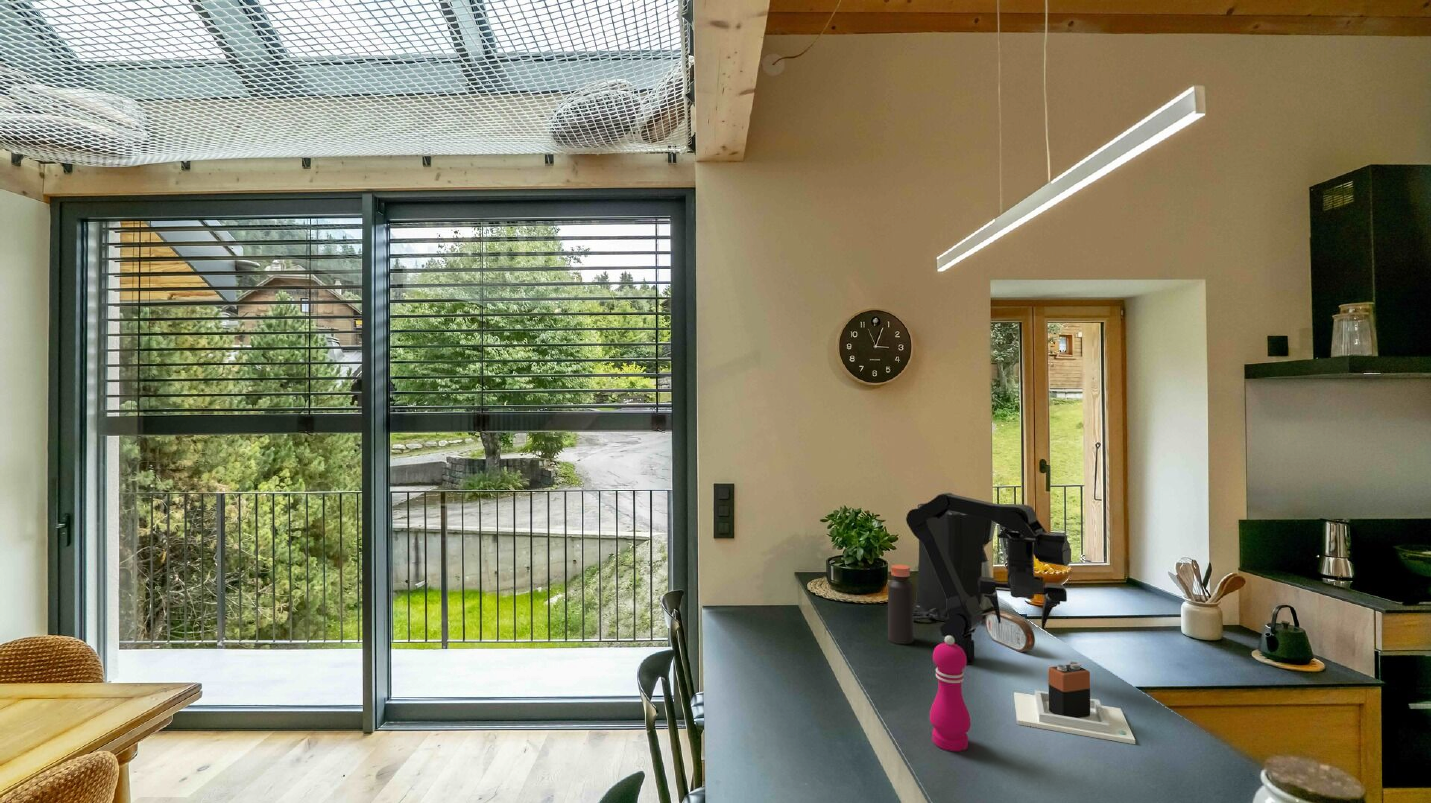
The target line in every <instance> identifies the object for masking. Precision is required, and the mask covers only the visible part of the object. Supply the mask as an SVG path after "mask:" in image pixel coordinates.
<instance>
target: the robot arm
mask: <svg viewBox="0 0 1431 803" xmlns="http://www.w3.org/2000/svg"><path fill="white" fill-rule="evenodd" d="M924 504H925V503H924ZM948 510H951V511H955V512H959V513H964V514H968V515H972V516H976V517H981V518H985V519H989V520H991V521H994V522H995V523H996V525H998V526H1001V527H1002V528H1004V529H1003V530H1002V532H1000V533H998V534H997V538H999V539H1006V556H1007V558H1006V562H1007V563H1006V568H1007V570H1006V571H1007V572H1006V576H1007V577H1006V578H1007V582H996V577H991V578H990V577H980V578H978V593H982V594H984V597H988V598H989V599H990V601H991V603H992V606H993V607H994V610H995V613H996V616H997V619H998V622H999V623H1001V617H1000V610H1001V609H1000V604H999V603H1000V602H999V598H998V591H1001V592H1010V596H1011V597H1013V598H1016V599H1017V598H1022V599H1023V598H1024V599H1027V600H1033V599H1034V598H1035V595H1042V596H1043V601H1042V610H1041V611H1042V612H1041V629H1045V627H1046V625H1047V621H1048V619H1049V616H1050V614H1051V611H1052V610H1053V608H1054V607H1055V606H1056V605H1061V602H1064V603H1067V601H1068V595H1067V594H1068V592H1067V590H1066V587H1065V586H1064V585H1063V584H1062V583H1054V582H1045V584H1044V577H1043V576H1035V559H1037V561H1038V562H1039V563H1043V564H1052V565H1057V566H1062V567H1063V566H1065V567H1068V566H1069V565H1070V563H1071V558H1072V548H1071V544H1070V543H1069V542H1070V541H1068V535H1066V534H1053V533H1048V532H1047V530H1046V529H1045V528H1044V526H1043V525H1042V523H1041V522H1040V521H1039V519H1038V518H1037V513H1036V511H1035V510H1034V509H1033V507H1032V506H1030V505H1028V504H1021V503H1020V504H1019V503H1018V504H1016V503H994V502H989V501H984V500H980V499H977V498H976V499H975V498H970V497H966V496H963V495H962V496H961V495H957V494H954V493H952V492H944V493H939V494H937V495H936V497H934V498H933V499H931V500H930V501H928V502H926V504H925V505H923V506H921V507H920V508H918V507H916V508H912V509H911V510H909V511H908V512H907V515H906V518H905V522H906V524H907V526H908V528H909V529H910V532H911V533H912V534H913V535H914V537H915V538H916V539H918V541H919V540H920V541H921V542H922V543H923V545H924V547H925V550H926V552H927V554H928V556H929V559H930V561H931V563H932V566H933V568H934V570H935V573H936V575H937V577H938V579H939V582H940V584H941V586H942V589H943V591H944V593H945V596H946V605H947V614H948V618H949V620H948V621H945V622H944V623H943V624H942V625H941V626H939V630H940V633H941V636H942V637H944V638H945V637H946V636H952V637H953V638H954V641H955V642H954V644H956V645H958V646H959V647H961V648H962V649H963V651H964V652H965V654H966V658H967V664H966V665H973V661H974V660H975V653H976V652H975V640H974V639H973V633H975V632H976V629H977V628H978V627H980V626H981V625H982V623H983V620H984V618H983V615H982V613H981V612H983V610H982V609H981V607H980V606H979V603H978V599H977V597H976V596H973V597H970V596H969V595H968V594H967V593H966V592H965V591H964V589H963V587H962V585H961V582H960V580H959V578H958V576H957V573H956V571H955V569H954V567H953V564H952V562H951V560H950V558H949V555H948V553H947V551H946V549H945V546H944V544H943V542H942V540H941V526H940V522H939V518H940V517H942V516H943V515H944V514H945V513H946V512H947V511H948Z"/></svg>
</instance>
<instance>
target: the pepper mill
mask: <svg viewBox="0 0 1431 803" xmlns="http://www.w3.org/2000/svg"><path fill="white" fill-rule="evenodd" d="M954 642H955V641H954V638H953V637H952V636H946V637H945V636H944V642H942V643H940V644H937V645H936V647H934V649H933V653H932V661H933V663H934V665H935V666H936V668H935V677H936V678H937V684H938V687H937V691H936V692H937V693H936V695H935V698H934V699H933V702H932V705H931V707H930V710H929V722H930V724H931V726H932V727H933V730H932V731H931V732H932V742H933V744H934V745H935V746H937V748H940V749H942V750H945V751H948V750H951V751H950V752H962V751H961V750H963V751H965V750H966V749H968V747H969V738H968V737H969V736H968V734H967V732H968V731H969V730H970V728H971V726H972V725H971V724H972V723H971V717H970V716H971V715H970V713H969V710H968V707H967V705H966V703H965V701H964V698H963V694H962V693H963V692H962V683H963V682H964V679H965V678H964V675H965V673H964V669H965V668H966V666H967V665H968V664H967V658H966V654H965V652H964V651H963V649H962V648H961V647H959V646H958V645H956V644H954Z"/></svg>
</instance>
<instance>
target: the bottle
mask: <svg viewBox="0 0 1431 803" xmlns="http://www.w3.org/2000/svg"><path fill="white" fill-rule="evenodd" d="M890 568H891V570H890V573H891V574H890V575H891V577H892V580H890V581H889V582H888V584H887V639H888V641H889V642H890V643H893V644H897V645H911V644H912V643H914V641H915V639H914V638H915V637H914V636H915V628H914V627H915V625H914V622H915V620H914V616H915V615H914V612H915V610H914V608H915V606H914V602H915V599H914V597H915V596H914V595H915V594H914V593H915V592H914V590H915V589H914V585H913V584H912V582H911V581H910V577H911V568H910V566H908V565H905V564H893V565H891V567H890Z"/></svg>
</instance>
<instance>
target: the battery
mask: <svg viewBox="0 0 1431 803" xmlns="http://www.w3.org/2000/svg"><path fill="white" fill-rule="evenodd" d="M1047 673H1048V674H1047V675H1048V692H1049V711H1050V712H1051V713H1053V714H1055V715H1061V716H1067V717H1073V718H1080V717H1086V716H1090V699H1091V672H1090V671H1089V670H1088V669H1086V668H1083V667H1082V664H1081V663H1080V662H1077V661H1070V662H1069V664H1058V665H1056V666H1050V667H1048V672H1047Z"/></svg>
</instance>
